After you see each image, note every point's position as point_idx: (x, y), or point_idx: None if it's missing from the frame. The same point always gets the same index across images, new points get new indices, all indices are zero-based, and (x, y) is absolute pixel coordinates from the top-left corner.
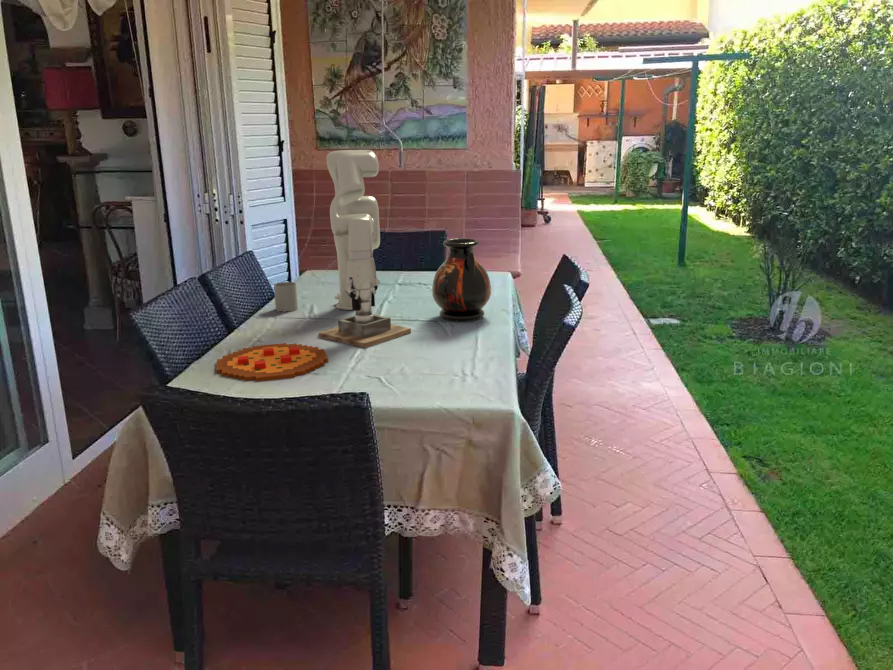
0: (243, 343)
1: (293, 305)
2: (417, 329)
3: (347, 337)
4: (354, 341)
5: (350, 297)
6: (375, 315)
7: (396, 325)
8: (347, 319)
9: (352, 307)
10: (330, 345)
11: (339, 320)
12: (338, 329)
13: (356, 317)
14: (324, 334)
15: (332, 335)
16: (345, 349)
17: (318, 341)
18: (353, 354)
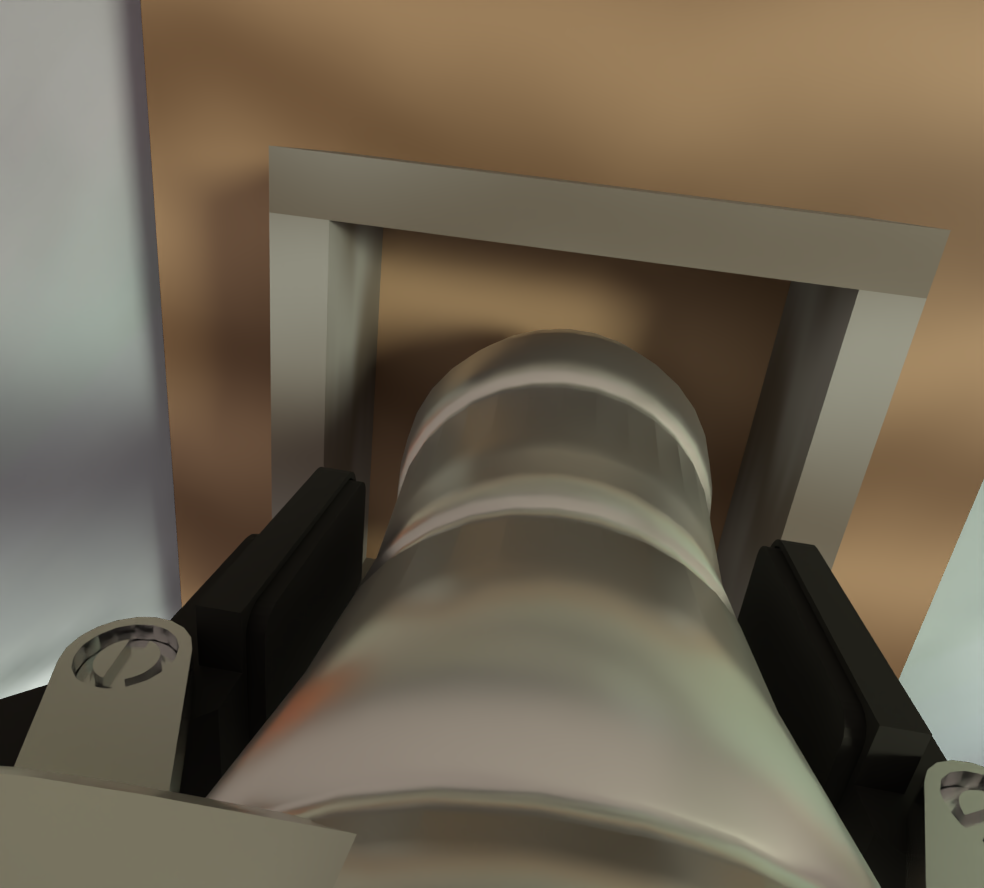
0: None
1: None
2: (978, 764)
3: (220, 427)
4: (180, 561)
5: (89, 655)
6: (818, 522)
7: (917, 630)
8: (431, 233)
9: (257, 534)
10: (53, 329)
11: (270, 185)
12: (420, 61)
13: (403, 465)
14: (149, 47)
15: (167, 207)
16: (74, 534)
17: (50, 86)
18: (37, 661)
